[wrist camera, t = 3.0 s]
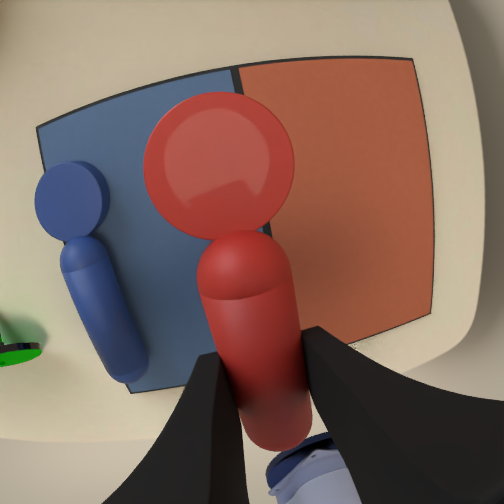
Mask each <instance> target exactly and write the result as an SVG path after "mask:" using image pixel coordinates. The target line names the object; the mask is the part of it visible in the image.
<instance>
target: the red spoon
mask: <svg viewBox="0 0 504 504" xmlns="http://www.w3.org/2000/svg"><path fill="white" fill-rule="evenodd" d="M294 171H295V160H294V152H293V148H292V144H291V141H290V138H289V136H288V133H287V131H286V130H285V128H284V126H283V125H282V123H281V122H280V121H279V119H278V118H277V117H276V116H275V115H274V114H273V113H272V112H271V111H270V110H269V109H268V108H267V107H265V106H264V105H263V104H261V103H259V102H258V101H256V100H254V99H252V98H249V97H247V96H244V95H241V94H237V93H232V92H209V93H203V94H199V95H196V96H193V97H191V98H188V99H186V100H184V101H182V102H181V103H179V104H177V105H176V106H174V107H173V108H172V109H171V110H169V111H168V112H167V113H166V114H165V115H164V116H163V117H162V118H161V120H160V121H159V122H158V124H157V125H156V126H155V128H154V130H153V132H152V133H151V135H150V137H149V140H148V143H147V145H146V149H145V154H144V161H143V174H144V181H145V186H146V189H147V192H148V195H149V197H150V199H151V201H152V203H153V205H154V206H155V208H156V209H157V211H158V212H159V213H160V214H161V215H162V217H163V218H164V219H165V220H166V221H167V222H169V223H170V224H171V225H172V226H174V227H175V228H177V229H178V230H180V231H182V232H184V233H186V234H188V235H190V236H193V237H196V238H200V239H205V240H213V241H212V242H211V243H210V244H209V245H208V246H207V248H206V249H205V250H204V251H203V253H202V255H201V257H200V260H199V263H198V267H197V278H196V279H197V285H198V291H199V294H200V297H201V301H202V304H203V307H204V311H205V314H206V317H207V320H208V324H209V327H210V330H211V333H212V336H213V339H214V343H215V346H216V349H217V352H218V354H219V355H220V358H221V361H222V364H223V367H224V370H225V373H226V376H227V379H228V382H229V384H230V387H231V390H232V393H233V396H234V399H235V402H236V404H237V407H238V411H239V415H240V418H241V421H242V423H243V426H244V429H245V431H246V433H247V435H248V437H249V438H250V439H251V440H252V441H253V442H254V443H255V444H256V445H257V446H259V447H261V448H263V449H266V450H269V451H275V452H276V451H286V450H289V449H292V448H294V447H296V446H297V445H299V444H300V443H301V442H302V441H303V440H304V439H305V438H306V437H307V435H308V434H309V432H310V429H311V426H312V409H311V401H310V393H309V387H308V380H307V372H306V365H305V358H304V351H303V344H302V337H301V328H300V321H299V315H298V308H297V302H296V295H295V289H294V283H293V277H292V271H291V266H290V262H289V259H288V257H287V255H286V253H285V251H284V250H283V248H282V247H281V246H280V245H279V244H278V243H277V242H276V241H275V240H274V239H272V238H271V237H270V236H268V235H266V234H264V233H262V232H260V231H256V230H258V229H259V228H261V227H262V226H264V225H265V224H266V223H267V222H269V221H270V220H271V219H272V218H273V217H274V216H275V215H276V214H277V212H278V211H279V210H280V208H281V207H282V206H283V204H284V202H285V200H286V199H287V197H288V194H289V192H290V190H291V186H292V182H293V178H294Z"/></svg>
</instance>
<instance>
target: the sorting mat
mask: <svg viewBox="0 0 504 504" xmlns="http://www.w3.org/2000/svg"><path fill="white" fill-rule="evenodd" d="M209 92H232V93H237V94H241V95H244V96H247V97H249V98H252V99H254V100H256V101H258V102H259V103H261V104H263V105H264V106H265V107H267V108H268V109H269V110H270V111H271V112H272V113H273V114H274V115H275V116H276V117H277V118H278V119H279V121H280V122H281V123H282V125H283V126H284V128H285V130H286V131H287V133H288V136H289V138H290V141H291V144H292V148H293V152H294V160H295V171H294V178H293V182H292V186H291V190H290V192H289V194H288V197H287V199H286V200H285V202H284V204H283V206H282V207H281V208H280V210H279V211H278V212H277V214H276V215H275V216H274V217H273V218H272V219H271V220H270V221H269V222H267V223H266V224H265V225H264V226H262V227H261V228H259V229H258V230H256V231H260V232H262V233H264V234H266V235H268V236H270V237H271V238H272V239H274V240H275V241H276V242H277V243H278V244H279V245H280V246H281V247H282V248H283V250H284V251H285V253H286V255H287V257H288V259H289V262H290V266H291V271H292V277H293V283H294V289H295V295H296V302H297V308H298V315H299V321H300V328H301V330H304V329H308V328H311V327H315V326H320V327H322V328H323V329H325V330H326V331H327V332H329V333H330V334H332V335H333V336H335V337H336V338H338V339H339V340H341V341H342V342H344V343H345V344H347V345H348V344H351V343H354V342H357V341H360V340H363V339H366V338H369V337H372V336H374V335H377V334H380V333H383V332H385V331H388V330H391V329H393V328H396V327H399V326H401V325H404V324H406V323H409V322H412V321H414V320H416V319H419V318H421V317H424V316H426V315H429V314H431V307H432V295H433V279H434V248H435V229H434V198H433V182H432V170H431V159H430V150H429V142H428V134H427V127H426V121H425V115H424V109H423V103H422V98H421V93H420V88H419V83H418V78H417V74H416V70H415V65H414V61H413V58H403V57H386V56H321V57H303V58H290V59H280V60H270V61H262V62H254V63H247V64H240V65H234V66H228V67H222V68H217V69H212V70H207V71H202V72H197V73H192V74H188V75H184V76H179V77H175V78H171V79H167V80H163V81H160V82H156V83H152V84H149V85H145V86H142V87H138V88H135V89H132V90H129V91H125V92H122V93H119V94H116V95H113V96H110V97H107V98H105V99H102V100H99V101H96V102H94V103H91V104H88V105H86V106H83V107H80V108H78V109H75V110H73V111H70V112H68V113H66V114H63V115H61V116H59V117H56V118H54V119H52V120H50V121H47V122H45V123H43V124H41V125H39V126H37V127H36V132H37V138H38V143H39V149H40V154H41V159H42V164H43V169H44V173H45V172H46V171H47V170H48V169H49V168H51V167H52V166H54V165H56V164H58V163H61V162H68V161H84V162H87V163H89V164H91V165H93V166H94V167H96V168H97V169H98V170H99V171H100V172H101V173H102V175H103V176H104V178H105V180H106V182H107V185H108V188H109V193H110V204H109V209H108V213H107V215H106V218H105V219H104V221H103V222H102V224H101V225H100V226H99V227H98V228H97V229H96V230H94V231H93V232H92V233H91V234H89V235H88V236H92V237H95V238H96V239H98V240H99V241H100V242H101V243H102V244H103V245H104V246H105V248H106V250H107V252H108V255H109V258H110V261H111V264H112V267H113V269H114V272H115V275H116V278H117V281H118V284H119V286H120V289H121V292H122V294H123V297H124V300H125V302H126V305H127V307H128V310H129V312H130V315H131V317H132V320H133V322H134V325H135V327H136V330H137V332H138V334H139V337H140V339H141V341H142V344H143V346H144V348H145V350H146V353H147V356H148V359H149V366H148V370H147V373H146V374H145V376H144V377H143V378H142V379H141V380H139V381H138V382H136V383H132V384H125V385H126V387H127V388H128V390H129V392H130V394H134V393H142V392H149V391H156V390H162V389H169V388H175V387H181V386H186V384H187V382H188V380H189V378H190V375H191V373H192V370H193V368H194V365H195V363H196V360H197V358H198V357H199V355H202V354H207V353H211V352H216V351H217V349H216V346H215V343H214V339H213V336H212V333H211V330H210V327H209V324H208V320H207V317H206V314H205V311H204V307H203V304H202V301H201V297H200V294H199V291H198V285H197V279H196V278H197V267H198V263H199V260H200V257H201V255H202V253H203V251H204V250H205V249H206V248H207V246H208V245H209V244H210V243H211V242H212V241H213V240H205V239H200V238H196V237H193V236H190V235H188V234H186V233H184V232H182V231H180V230H178V229H177V228H175V227H174V226H172V225H171V224H170V223H169V222H167V221H166V220H165V219H164V218H163V217H162V215H161V214H160V213H159V212H158V211H157V209H156V208H155V206H154V205H153V203H152V201H151V199H150V197H149V195H148V192H147V189H146V186H145V181H144V174H143V161H144V154H145V149H146V145H147V143H148V140H149V137H150V135H151V133H152V132H153V130H154V128H155V126H156V125H157V124H158V122H159V121H160V120H161V118H162V117H163V116H164V115H165V114H166V113H167V112H168V111H169V110H171V109H172V108H173V107H174V106H176V105H177V104H179V103H181V102H182V101H184V100H186V99H188V98H191V97H193V96H196V95H199V94H203V93H209ZM63 242H64V245H66V244H67V242H65V241H63Z"/></svg>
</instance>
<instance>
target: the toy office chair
mask: <svg viewBox="0 0 504 504" xmlns="http://www.w3.org/2000/svg"><path fill="white" fill-rule="evenodd" d="M41 353H42V350H41V346H40V344H39V343H17V344H9V345H4V343H3V342H2V339H1V334H0V367H3V366H10V365H15V364H19V363H23V362H26V361H29V360H31V359H34V358H36V357H38V356H39V355H40V354H41Z"/></svg>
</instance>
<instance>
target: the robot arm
mask: <svg viewBox="0 0 504 504" xmlns="http://www.w3.org/2000/svg"><path fill="white" fill-rule="evenodd" d="M301 337H302V344H303V351H304V358H305V365H306V372H307V380H308V387H309V391H310V394H311V397H312V399H313V402H314V405H315V407H316V409H317V411H318V413H319V415H320V417H321V419H322V421H323V422H324V424H325V426H326V428H327V430H328V432H329V434H330V436H331V438H332V439H333V441H334V443H335V445H336V447H337V449H328V448H314V449H313V450H311V451H310V452H309V453H308V454H307V456H306V457H305V458H304V459H303V460H302V461H301V462H300V463H299V464H298V465H296V466H295V467H294V468H293V469H292V470H291V471H290V472H289V473H288V474H287V475H286V476H285V477H284V478H283V479H282V480H281V481H280V482H279V483H277V484H276V485H275V486H274V487H273V488H272V489H271V490H270V491H269V492H268V494H269V495H270V496H276V499H277V503H278V504H504V401H499V400H492V399H484V398H477V397H472V396H467V395H462V394H458V393H454V392H450V391H446V390H442V389H439V388H436V387H433V386H429V385H427V384H424V383H421V382H418V381H416V380H413V379H411V378H408V377H406V376H403V375H401V374H399V373H397V372H394V371H392V370H390V369H388V368H386V367H384V366H382V365H380V364H379V363H377V362H375V361H373V360H371V359H370V358H368V357H366V356H365V355H363V354H361V353H360V352H358V351H356V350H355V349H353V348H351V347H350V346H348V345H347V344H345V343H344V342H342V341H341V340H339V339H338V338H336V337H335V336H333V335H332V334H330V333H329V332H327V331H326V330H325V329H323V328H322V327H320V326H315V327H311V328H308V329H304V330H301ZM102 504H249V499H248V493H247V486H246V473H245V461H244V450H243V439H242V426H241V421H240V416H239V411H238V407H237V404H236V402H235V399H234V396H233V393H232V390H231V387H230V384H229V382H228V379H227V376H226V373H225V370H224V367H223V364H222V361H221V358H220V355H219V354H218V352H217V351H216V352H211V353H207V354H202V355H199V357H198V358H197V360H196V363H195V365H194V368H193V370H192V373H191V375H190V378H189V380H188V382H187V384H186V387H185V389H184V391H183V393H182V395H181V397H180V399H179V401H178V403H177V405H176V407H175V409H174V411H173V413H172V414H171V416H170V418H169V420H168V422H167V423H166V425H165V427H164V429H163V430H162V432H161V433H160V435H159V437H158V438H157V440H156V441H155V443H154V444H153V446H152V447H151V449H150V450H149V451H148V453H147V454H146V456H145V457H144V458H143V460H142V461H141V462H140V463H139V464H138V466H137V467H136V468H135V469H134V471H133V472H132V473H131V474H130V475H129V477H128V478H127V479H126V480H125V481H124V482H123V483H122V484H121V486H119V488H118V489H117V490H116V491H115V492H113V493H112V494H111V495H110V496H109V497H108V498H107V499H106V500H105V501H104V502H103V503H102Z"/></svg>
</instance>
